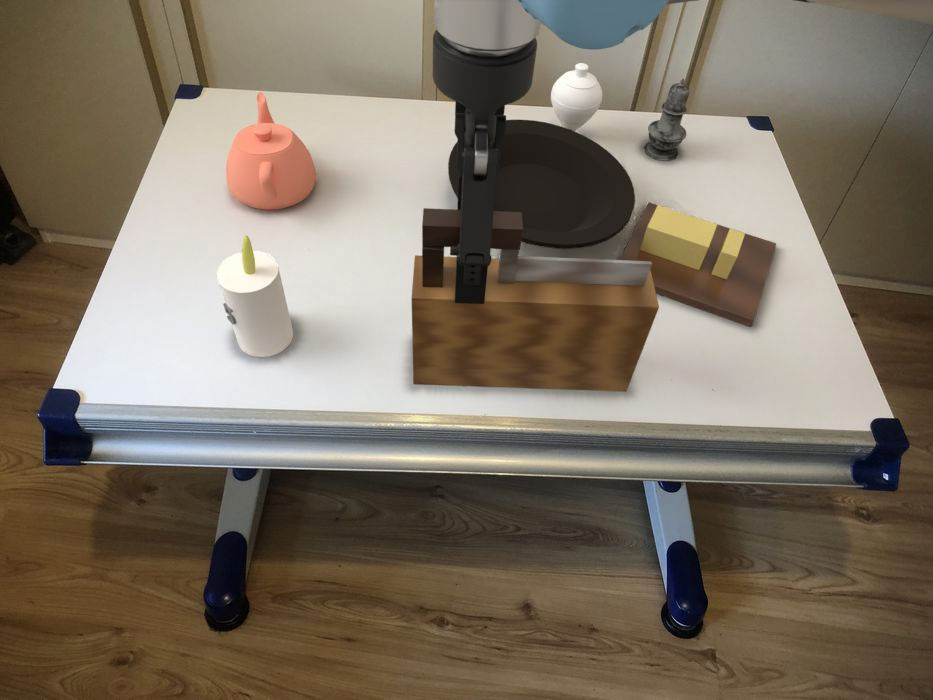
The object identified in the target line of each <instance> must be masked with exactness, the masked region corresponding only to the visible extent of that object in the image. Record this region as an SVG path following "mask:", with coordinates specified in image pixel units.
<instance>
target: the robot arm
mask: <svg viewBox="0 0 933 700" xmlns="http://www.w3.org/2000/svg"><path fill="white" fill-rule="evenodd" d="M696 1H698V0H433V24H434V28H435V31H434V33H433V35H432V36H433V37H432V79H433V83H434V85H435V87H436V88H437V89H438V91H439V92H440V93H441V94H442V95H443V96H445V97H447V98H448V99H450V100H452V101H454V102H455V104H454V105H455V106H454V136H455V137H456V139H457V140H456V143H457V169H458V171H460V172H459V185H458V198H457V209H456V210H461V219H460V243H459V244H457V247H454V246H450V247H449V255H450V256H453V257H457V263H456V283H455V303H467V304H484V301H485V291H486V280H487V270H488V266H489V265H490V262H491V258H492V255H491V251H492V249H491V238H492V225H493V212H494V199H495V186H496V175H497V172H498V171H499V170H500V159H501V143H502V139H503V138H504V137H505V131H506V120H507V115H506V114H505V111H506V110H505V109H506V106H507V105H509V104H513V103H515V102H518V101H519V100H521V99H522V98H523V97H524V96H526V95H527V94H528V92H529V91H530V89H531V88H532V85H533V80H534V74H535V73H534V72H535V64H536V57H537V50H538V41H537V38H536V37H537V36H538V35H539V34H540V29H541V26H542V25H543V26H545V27H546V28H548V30H550V31H551V32H552V34H554V35H555V36H556V37H557V38H558V39H560V40H561V41H562V42H564V43H565V44H568V45H570V46H573V47H575V48H578V49H583V50H596V51H597V50H605V49H610V48H613V47H616V46H619V45H620V44H622V43H624V42H625V40H626V39H628V38H629V37H631V36H632V35H634V34H635V33H636V32H639V31H643V30H645V29H646V28H647V27H649V26H650V25H651V24H652V23H653V22H654V21H655V19H657V18H658V16H659V15H660V14H661V12H662V11H663V9H664V8H665V7H666V5H673V4H680V3H687V2H696ZM793 1H794V2H795V1H796V2H801V3H810V4H818V5H823V6H828V7H834V8H838V9H843V10H850V11H854V12H860V13H864V14H865V13H866V14H871V15H876V16H881V17H887V18H891V19H896V20H897V19H898V20H904V21H908V22H913V23H919V24H924V25H930V26H933V0H793ZM541 24H542V25H541ZM493 145H494V149H493Z"/></svg>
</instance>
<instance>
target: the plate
mask: <svg viewBox="0 0 933 700" xmlns="http://www.w3.org/2000/svg"><path fill="white" fill-rule="evenodd" d="M493 149H494V145H493ZM447 165H448V166H447V170H448V171H447V173H448V180H449V184H450V186H451V189H452V191H453V193H454V194H455V196H456V198H457V199H458V185H459V172H460V171H458V169H457V142H455V144H454V146H453V147H452V149H451V150H450V154H449V157H448V164H447ZM635 193H636V192H635V188H634V185H633V181H632V179H631V177H630V175H629V174H628V172H627V170H626V169H625V167H624V166H623V165H622V164H621V162H619V160H618V159H617V157H615V156H614V155H613V154H612V153H610V152H609V150H607V149H606V148H604V147H603V146H601V144H599V143H598V142H596V141H594V140H593V139H592V138H589V137H588V136H586V135H584V134H581V133H580V132H577V131H572V130H570V129H567V128H564V127H563V126H562V125H559V124H554V123H549V122H545V121H539V120H533V119H532V120H531V119H506V131H505V137H504V138H503V139H502V143H501V159H500V170H499V171H498V172H497V175H496V186H495V199H494V211H501V212H521V213H522V224H523V232H522V239H521V243H524V244H527V245H531V246H536V247H540V248H548V249H555V250H557V249H561V250H571V249H583V248H588V247H593V246H596V245H599V244H602V243H604V242H607V241H608V240H610V239H612V238H614V237H616V236H617V235H618V234H619V233H621V232H622V230H624V229H625V228H626V226H627V225H628V223H629V222H630V221H631V218H632V215H633V212H634V209H635V205H636V204H635V203H636V194H635Z"/></svg>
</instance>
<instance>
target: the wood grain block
mask: <svg viewBox="0 0 933 700" xmlns="http://www.w3.org/2000/svg"><path fill="white" fill-rule="evenodd" d="M499 260H500V258H492V257H491V262H490V265H489V266H488V270H487V280H486V291H485V301H484V304H467V303H455V283H456V263H457V256H444V272H443V287H423V286H422V255H419V254H417V255H414V261H413V273H412V274H413V275H412V286H411V298H410V299H411V340H412V341H411V343H412V344H411V345H412V384H413V385H415V386H416V385H419V386H422V385H423V386H446V387H447V386H449V387H475V388H476V387H479V388H503V389H505V388H507V389H535V390H536V389H537V390H538V389H539V390H566V391H568V390H569V391H593V392H594V391H595V392H624V393H625V392H626V393H627V391H628V388H629V386H630V384H631V381H632V379H633V376H634V373H635V370H636V368H637V365H638V363H639V360H640V357H641V355H642V353H643V350H644V347H645V344H646V342H647V340H648V337H649V335H650V332H651V329H652V326H653V324H654V322H655V319H656V317H657V314H658V311H659V308H660V305H659V301H658V296H657V293H656V292H655V287H654V283H653V279H652V275H651V270H650V271H649V274H648V277H647V280H646V283H645V285H644V286H632V285H606V284H580V283H555V282H529V281H515V282H514V284H508V283H498V269H499Z"/></svg>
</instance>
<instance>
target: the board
mask: <svg viewBox="0 0 933 700" xmlns="http://www.w3.org/2000/svg"><path fill="white" fill-rule="evenodd" d="M658 205H659V204H656V203H653V202H647V205H646V206H645V208H644V210H643V212H642V214H641V215H640V218H639V220H638V222H637V225H636V226H635V228H634V230H633V232H632V234H631V236H630V238H629V240H628V242H627V244H626V246H625V248H624V250H623V252H622V254H621V256H620V258H619V260H627V261H651V262H652V265H651V268H650V270H651V275H652V279H653V283H654V287H655V292H656V295H659V296H663V297H665V298H668V299H671V300H674V301H676V302H680V303H682V304H685V305H687V306H690V307H692V308H696V309H699V310H702V311H705V312H707V313H710V314H713V315H715V316H718V317H721V318H724V319H727V320H730V321H732V322H735V323H738V324H741V325H744V326H747V327H749V328H750V327H751V328H752V325H753V324H754V322H755V319H756V317H757V313H758V309H759V306H760V303H761V298H762V295H763V292H764V290H765V289H764V288H765V285H766V281H767V278H768V274H769V271H770V267H771V264H772V260H773V258H774V255H775V254H774V253H775V250H776V247H777V243H776V242H774V241H770V240H768V239H765V238H761V237H758V236H756V235H755V236H754V235H751V234H748V233H745V232H743V231H739V230H736V229H735V230H736V231H739V232H742V233H745V236H744V239H743V242H742V245H741V248H740V251H739V254H738V257H737V259H736V261H735V263H734V265H733V267H732V269H731V271H730V274H729V276H728V278H727V279H723V278H720V277H718V276H715V275H712V271H713V268H714V266H715V263H716V260H717V257H718V255H719V252H720V250H721V247H722V245H723V243H724V241H725V238H726V236H727V234H728V232H729V229H731V228H730V227H727V226H724V225H721V224H719V223H715V222H712V221H709V220H705V219H704V220H705V221H708V222H711V223H714V224H717V227H716V230H715V232H714V235H713V238H712V240H711V243H710V246H709V248H708V250H707V253H706V255H705V257H704V260H703V262H702V264H701V267H700V269H699V270H697V269H694V268H691V267H688V266H685V265H682V264H679V263H676V262H673V261H670V260H668V259H665V258H662V257H659V256H656V255H653V254H650V253H647V252H644V251H641V250H640V247H641V244H642V241H643V238H644V235H645V232H646V229H647V226H648V224H649V222H650V220H651V218H652V216H653V214H654V212H655V210H656V208H657V206H658ZM673 210H674V211H677V212H680V213H683V212H682V211H678V210H675V209H673ZM683 214H685V213H683Z"/></svg>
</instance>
